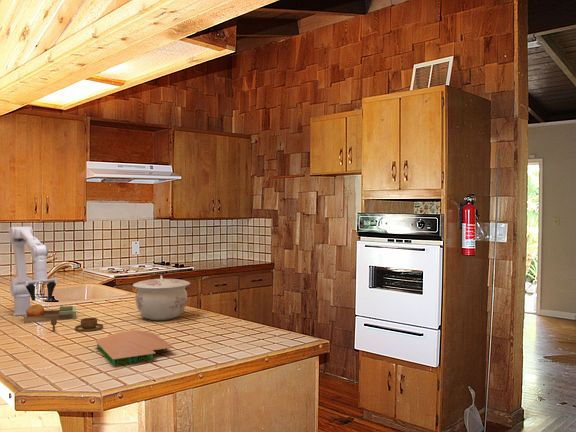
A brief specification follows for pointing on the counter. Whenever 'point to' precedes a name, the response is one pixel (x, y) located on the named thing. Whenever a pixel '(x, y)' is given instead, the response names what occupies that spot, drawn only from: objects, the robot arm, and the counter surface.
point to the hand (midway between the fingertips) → (41, 299)
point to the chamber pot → (161, 298)
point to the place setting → (83, 325)
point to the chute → (54, 315)
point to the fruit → (35, 310)
